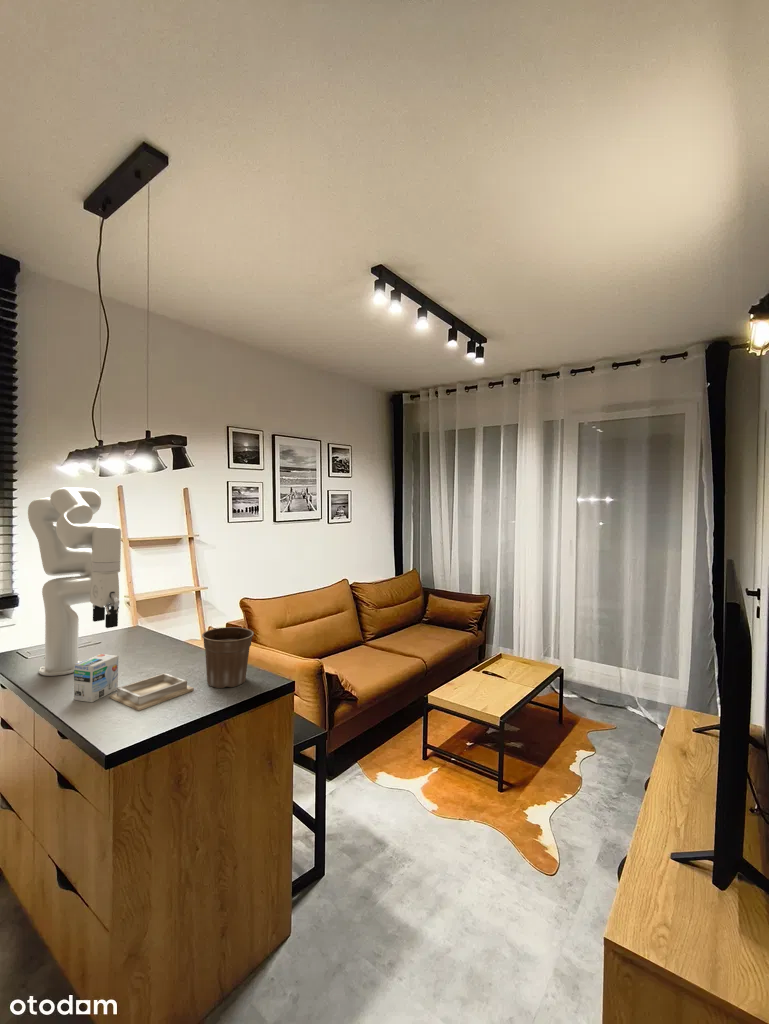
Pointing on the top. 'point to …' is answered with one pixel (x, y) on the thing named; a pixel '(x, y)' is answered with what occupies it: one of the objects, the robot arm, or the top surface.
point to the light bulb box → (95, 677)
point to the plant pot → (227, 655)
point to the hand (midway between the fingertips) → (105, 623)
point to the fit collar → (151, 691)
